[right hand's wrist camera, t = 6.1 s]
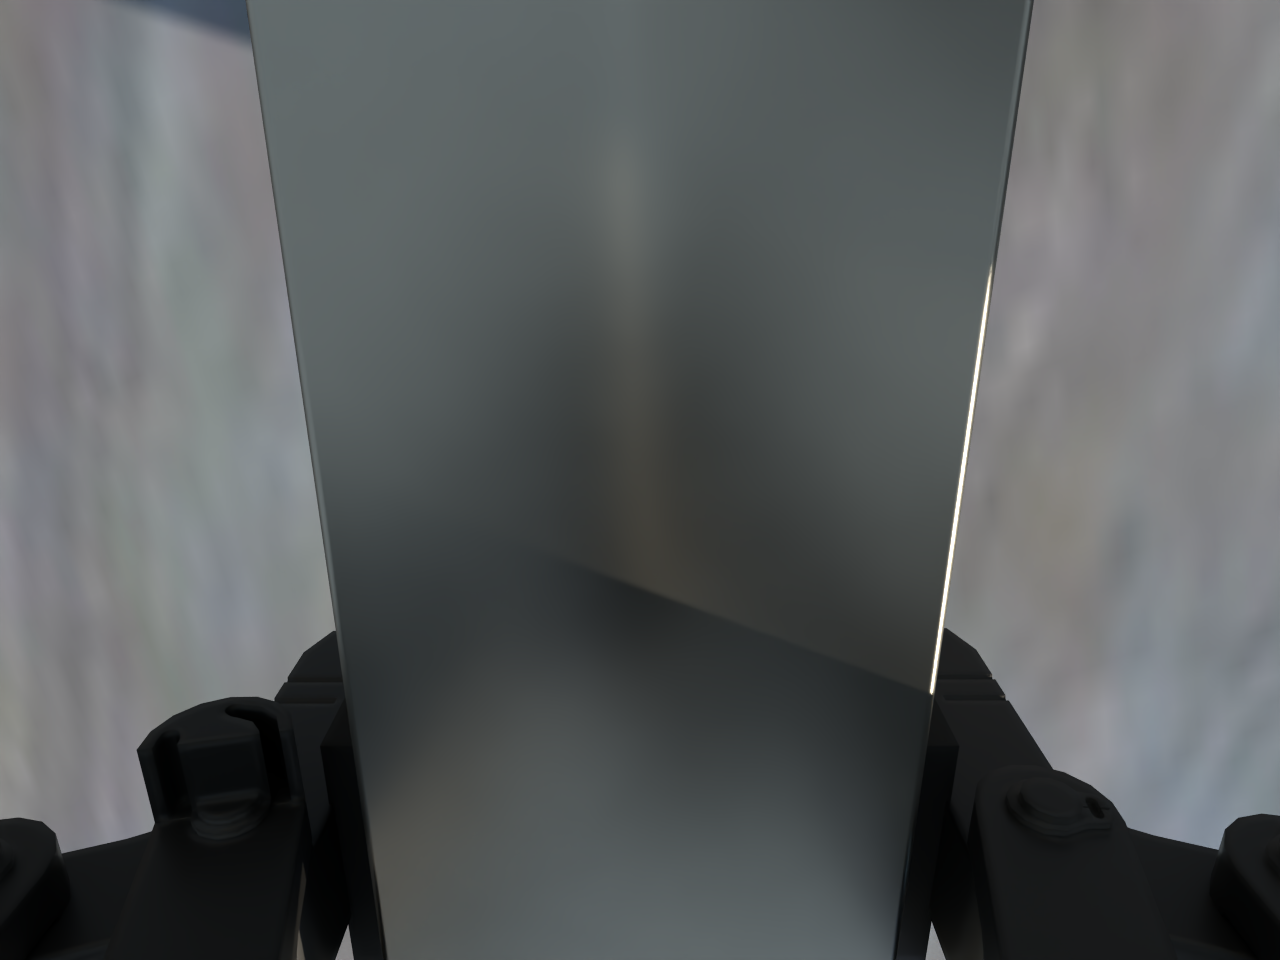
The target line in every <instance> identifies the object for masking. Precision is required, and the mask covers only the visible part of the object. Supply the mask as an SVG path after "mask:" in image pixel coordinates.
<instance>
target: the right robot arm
mask: <svg viewBox="0 0 1280 960" xmlns="http://www.w3.org/2000/svg"><path fill="white" fill-rule="evenodd" d="M137 753H138V757H139V761H140V765H141V769H142V773H143V777H144V781H145V785H146V789H147V793H148V797H149V801H150V805H151V809H152V813H153V817H154V821H155V825H154V827H153V830H152V831H151V832H148V833H145V834H142V835H138V836H135V837H132V838H128V839H124V840H120V841H116V842H111V843H107V844H102V845H98V846H93V847H89V848H85V849H80V850H76V851H71V852H67V853H63V854H62V853H61V850H60V847H59V844H58V840H57V837H56V834H55V833H54V832H53V831H52V830H51V829H50V828H49V827H48V826H46V825H45V824H44V823H43V822H41V821H35V820H30V819H24V818H11V819H2V820H0V960H335V959H336V956H337V953H338V950H339V948H340V945H341V942H342V939H343V937H344V934H345V931H346V929H347V926H348V925H349V931H350V938H351V944H352V950H353V956H354V960H383V955H382V948H381V941H380V934H379V927H378V920H377V913H376V906H375V899H374V892H373V885H372V878H371V871H370V864H369V857H368V851H367V844H366V837H365V830H364V823H363V816H362V809H361V802H360V795H359V788H358V781H357V774H356V767H355V760H354V753H353V746H352V739H351V732H350V725H349V718H348V711H347V704H346V697H345V690H344V683H343V676H342V669H341V662H340V655H339V648H338V642H337V635H336V631H333V632H331V633H330V634H328V635H327V636H326V637H324V638H323V639H322V640H320V641H319V642H317V643H316V644H315V645H313V646H312V647H311V648H309V649H308V650H306V651H305V652H304V653H303V654H302V656H301V658H300V659H299V661H298V662H297V664H296V665H295V667H294V669H293V670H292V672H291V673H290V675H289V676H288V682H285V683H284V684H283V686H282V687H281V689H280V690H279V692H278V694H277V695H276V697H275V701H271V700H267V699H263V698H260V697H229V698H225V699H220V700H216V701H211V702H207V703H202V704H199V705H197V706H195V707H192V708H190V709H188V710H185V711H183V712H181V713H178V714H176V715H174V716H172V717H171V718H169V719H168V720H166V721H165V722H164V723H162V724H161V725H159V726H158V727H157V728H155V729H154V730H152V731H151V732H150V733H149V734H148V736H147V737H146V738H145V740H144V741H143V742H142V744H141V745H140V746H139V747H138V749H137ZM931 921H932V923H933V926H934V929H935V931H936V934H937V937H938V939H939V942H940V945H941V948H942V950H943V953H944V956H945V959H946V960H1280V816H1277V815H1268V814H1257V815H1252V816H1246V817H1240V818H1238V819H1236V820H1235V821H1234V822H1233V823H1232V824H1231V825H1230V826H1228V827H1227V828H1226V829H1225V831H1224V835H1223V838H1222V841H1221V844H1220V848H1219V850H1216V849H1212V848H1207V847H1203V846H1198V845H1194V844H1189V843H1185V842H1181V841H1176V840H1172V839H1167V838H1163V837H1158V836H1154V835H1151V834H1147V833H1144V832H1140V831H1137V830H1134V829H1130V828H1128V827H1127V826H1126V823H1125V821H1124V820H1123V818H1122V817H1121V815H1120V814H1119V812H1118V811H1117V809H1116V807H1115V806H1114V804H1113V803H1112V802H1111V801H1110V800H1108V799H1107V798H1106V797H1105V796H1103V795H1102V794H1101V793H1100V792H1099V791H1097V790H1096V789H1095V788H1094V787H1092V786H1091V785H1089V784H1087V783H1085V782H1083V781H1081V780H1079V779H1077V778H1075V777H1073V776H1071V775H1069V774H1067V773H1064V772H1061V771H1057V770H1053V768H1052V767H1051V765H1050V764H1049V762H1048V761H1047V759H1046V758H1045V756H1044V754H1043V753H1042V751H1041V750H1040V748H1039V747H1038V745H1037V744H1036V742H1035V740H1034V739H1033V737H1032V736H1031V734H1030V733H1029V731H1028V730H1027V728H1026V727H1025V725H1024V723H1023V722H1022V720H1021V719H1020V717H1019V716H1018V714H1017V713H1016V711H1015V709H1014V708H1013V706H1012V705H1011V703H1010V702H1009V701H1006V699H1005V694H1004V692H1003V691H1002V689H1001V688H1000V686H999V685H998V683H997V681H996V680H995V679H992V674H991V672H990V671H989V669H988V667H987V666H986V664H985V663H984V661H983V660H982V658H981V657H980V655H979V653H978V652H977V650H976V649H974V648H973V647H972V646H970V645H969V644H968V643H966V642H965V641H963V640H962V639H961V638H959V637H958V636H957V635H955V634H954V633H952V632H951V631H950V630H948V629H947V628H944V631H943V638H942V645H941V652H940V659H939V666H938V672H937V679H936V686H935V693H934V700H933V707H932V714H931V721H930V728H929V735H928V742H927V749H926V756H925V763H924V770H923V777H922V784H921V791H920V798H919V805H918V812H917V819H916V826H915V833H914V840H913V847H912V854H911V861H910V868H909V875H908V882H907V889H906V896H905V903H904V910H903V917H902V924H901V931H900V938H899V945H898V952H897V959H896V960H925V959H926V953H927V946H928V940H929V934H930V927H931Z"/></svg>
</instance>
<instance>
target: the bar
mask: <svg viewBox="0 0 1280 960" xmlns="http://www.w3.org/2000/svg"><path fill="white" fill-rule="evenodd" d="M245 1H246V8H247V15H248V22H249V28H250V35H251V42H252V49H253V56H254V63H255V70H256V77H257V84H258V91H259V98H260V105H261V112H262V119H263V126H264V133H265V140H266V147H267V154H268V161H269V168H270V175H271V182H272V189H273V196H274V203H275V210H276V217H277V224H278V231H279V237H280V244H281V251H282V258H283V265H284V272H285V279H286V286H287V293H288V300H289V307H290V314H291V321H292V328H293V335H294V342H295V349H296V356H297V363H298V370H299V377H300V384H301V391H302V398H303V405H304V412H305V419H306V426H307V433H308V439H309V446H310V453H311V460H312V467H313V474H314V481H315V488H316V495H317V502H318V509H319V516H320V523H321V530H322V537H323V544H324V551H325V558H326V565H327V572H328V579H329V586H330V593H331V600H332V607H333V614H334V621H335V628H336V635H337V642H338V648H339V655H340V662H341V669H342V676H343V683H344V690H345V697H346V704H347V711H348V718H349V725H350V732H351V739H352V746H353V753H354V760H355V767H356V774H357V781H358V788H359V795H360V802H361V809H362V816H363V823H364V830H365V837H366V844H367V851H368V857H369V864H370V871H371V878H372V885H373V892H374V899H375V906H376V913H377V920H378V927H379V934H380V941H381V948H382V955H383V960H896V959H897V952H898V945H899V938H900V931H901V924H902V917H903V910H904V903H905V896H906V889H907V882H908V875H909V868H910V861H911V854H912V847H913V840H914V833H915V826H916V819H917V812H918V805H919V798H920V791H921V784H922V777H923V770H924V763H925V756H926V749H927V742H928V735H929V728H930V721H931V714H932V707H933V700H934V693H935V686H936V679H937V672H938V666H939V659H940V652H941V645H942V638H943V631H944V624H945V617H946V610H947V603H948V596H949V589H950V582H951V575H952V568H953V561H954V554H955V547H956V540H957V533H958V526H959V519H960V512H961V505H962V498H963V491H964V484H965V477H966V470H967V463H968V456H969V449H970V442H971V435H972V428H973V421H974V414H975V407H976V400H977V393H978V386H979V379H980V372H981V366H982V359H983V352H984V345H985V338H986V331H987V324H988V317H989V310H990V303H991V296H992V289H993V282H994V275H995V268H996V261H997V254H998V247H999V240H1000V233H1001V226H1002V219H1003V212H1004V205H1005V198H1006V191H1007V184H1008V177H1009V170H1010V163H1011V156H1012V149H1013V142H1014V135H1015V128H1016V121H1017V114H1018V107H1019V100H1020V93H1021V86H1022V79H1023V72H1024V65H1025V59H1026V52H1027V45H1028V38H1029V31H1030V24H1031V17H1032V10H1033V3H1034V0H245Z"/></svg>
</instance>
